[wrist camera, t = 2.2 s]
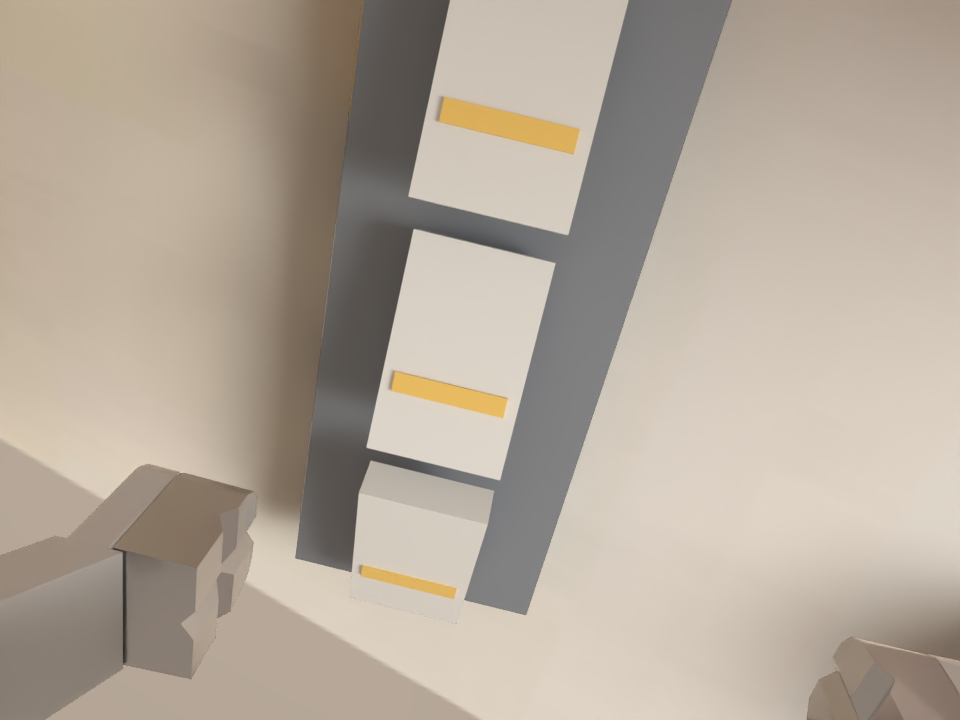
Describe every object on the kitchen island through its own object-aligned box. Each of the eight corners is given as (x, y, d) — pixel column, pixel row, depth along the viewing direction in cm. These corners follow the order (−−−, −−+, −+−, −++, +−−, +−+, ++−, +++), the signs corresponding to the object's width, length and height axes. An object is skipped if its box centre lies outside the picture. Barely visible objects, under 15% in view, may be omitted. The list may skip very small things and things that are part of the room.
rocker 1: (472, -64, 24) (468, -90, 22) (631, -26, 24) (641, -48, 22) (415, 199, 26) (407, 196, 24) (564, 235, 26) (568, 235, 24)
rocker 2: (420, 229, 29) (413, 228, 27) (553, 261, 29) (555, 263, 27) (375, 435, 30) (365, 448, 29) (501, 466, 30) (499, 481, 28)
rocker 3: (370, 460, 31) (357, 495, 30) (494, 490, 31) (487, 527, 30) (359, 566, 37) (348, 600, 36) (463, 591, 37) (455, 626, 36)
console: (397, -115, 28) (360, -144, 23) (724, -37, 28) (757, -49, 23) (314, 511, 42) (280, 577, 37) (529, 564, 42) (524, 638, 37)
